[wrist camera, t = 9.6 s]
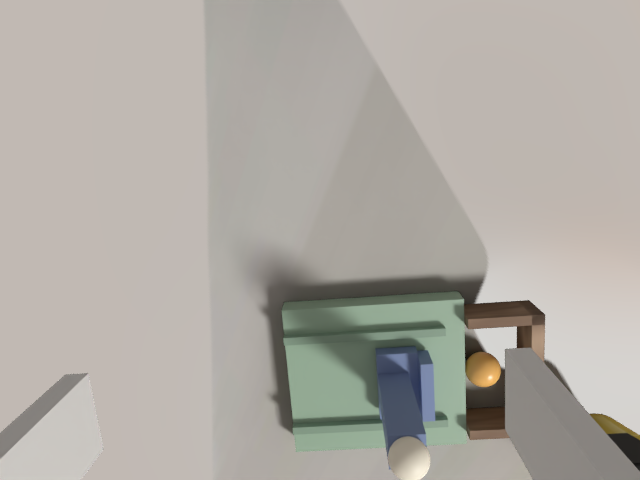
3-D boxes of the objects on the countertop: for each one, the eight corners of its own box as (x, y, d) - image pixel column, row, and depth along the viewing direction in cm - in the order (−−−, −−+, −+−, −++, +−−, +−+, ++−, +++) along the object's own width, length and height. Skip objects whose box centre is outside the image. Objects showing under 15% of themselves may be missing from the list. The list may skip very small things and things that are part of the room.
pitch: (284, 302, 51) (280, 313, 48) (457, 291, 50) (466, 302, 47) (298, 437, 55) (295, 456, 52) (460, 429, 54) (468, 448, 51)
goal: (458, 304, 51) (468, 319, 47) (529, 300, 50) (545, 314, 46) (460, 417, 54) (470, 439, 50) (527, 413, 53) (542, 436, 49)
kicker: (374, 348, 49) (387, 431, 36) (427, 345, 49) (461, 428, 35) (378, 411, 51) (392, 514, 37) (429, 408, 50) (463, 511, 37)
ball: (497, 346, 51) (462, 346, 52) (503, 361, 48) (466, 361, 49) (497, 376, 52) (463, 376, 53) (503, 394, 49) (466, 393, 49)
